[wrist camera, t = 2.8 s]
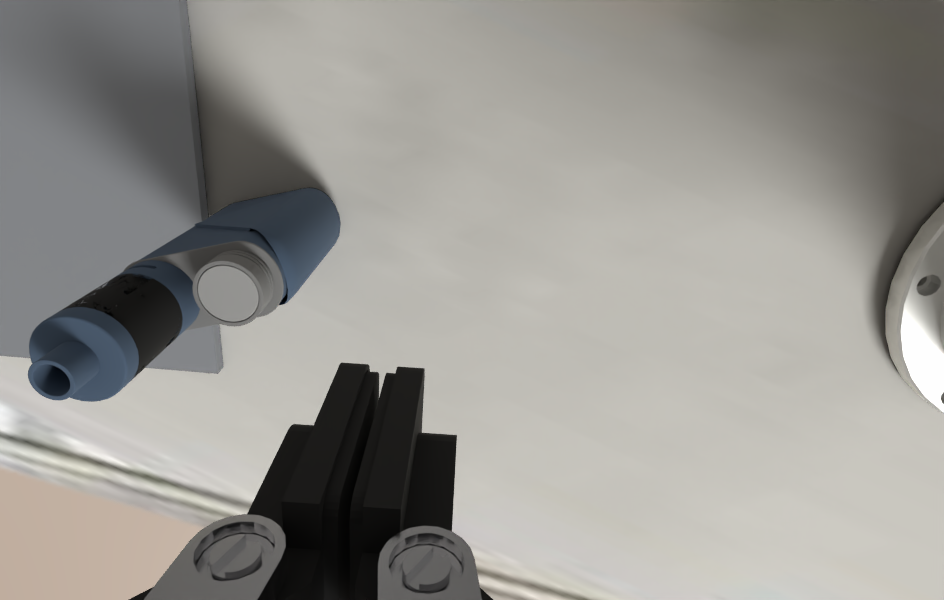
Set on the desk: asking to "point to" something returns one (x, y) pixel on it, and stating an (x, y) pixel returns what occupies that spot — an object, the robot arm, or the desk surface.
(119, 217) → the mat
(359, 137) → the desk surface
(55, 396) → the vaping device
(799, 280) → the desk surface
